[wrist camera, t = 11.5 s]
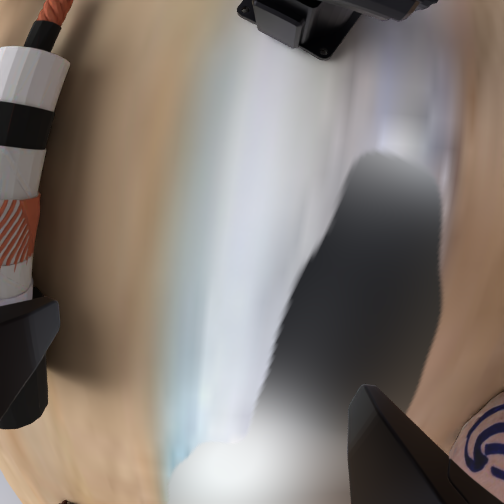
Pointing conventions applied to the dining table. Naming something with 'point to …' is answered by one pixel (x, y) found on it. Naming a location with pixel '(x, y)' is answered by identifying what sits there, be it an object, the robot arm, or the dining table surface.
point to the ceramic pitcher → (483, 447)
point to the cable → (26, 175)
